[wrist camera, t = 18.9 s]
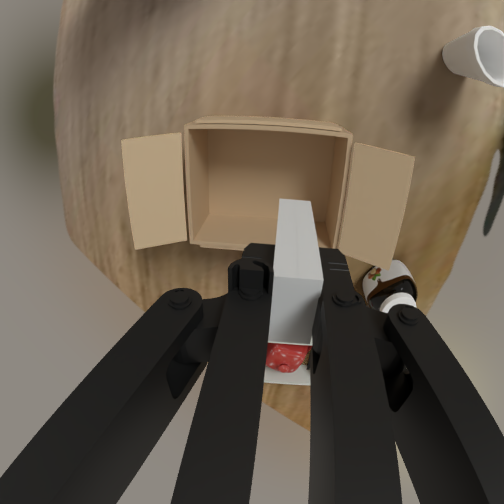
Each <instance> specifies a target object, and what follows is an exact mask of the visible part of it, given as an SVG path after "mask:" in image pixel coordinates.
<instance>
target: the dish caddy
mask: <svg viewBox="0 0 504 504" xmlns="http://www.w3.org/2000/svg"><path fill="white" fill-rule="evenodd" d="M268 342H269V343H281V344H295V345H311V346H312V337H311V342H310V344H299V343H285V342H273V341H268ZM306 369H307V365H300V366H299V368H298V369H297V370H296V371H294V372H292V373H282V372H280V371H277V370H274V369H272V368H269V367H268V366H265V375H264V382H267V383H279V384H294V385H310V370H306Z"/></svg>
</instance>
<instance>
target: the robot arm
mask: <svg viewBox="0 0 504 504" xmlns="http://www.w3.org/2000/svg"><path fill="white" fill-rule="evenodd" d="M311 337H312V349H311V353H310V357H309V361H308V365H307V369H306V370H310V387H311V435H310V438H311V439H310V477H309V500H308V504H402V497H401V485H400V476H399V467H398V460H397V452H396V445H395V442H396V444H397V446H398V449H399V451H400V454H401V456H402V458H403V461H404V463H405V466H406V468H407V471H408V473H409V476H410V478H411V481H412V483H413V486H414V488H415V491H416V494H417V496H418V499H419V502H420V504H504V436H503V434H502V432H501V431H500V429H499V427H498V425H497V423H496V422H495V420H494V418H493V416H492V415H491V413H490V411H489V410H488V408H487V406H486V405H485V403H484V401H483V400H482V398H481V396H480V395H479V393H478V392H477V390H476V389H475V387H474V385H473V384H472V382H471V381H470V379H469V377H468V376H467V374H466V373H465V371H464V370H463V368H462V367H461V365H460V364H459V362H458V361H457V359H456V358H455V357H454V355H453V354H452V352H451V351H450V349H449V348H448V346H447V345H446V343H445V342H444V341H443V340H442V338H441V336H440V335H439V334H438V332H437V331H436V330H435V328H434V327H433V325H432V324H431V323H430V321H429V320H428V319H427V317H426V316H425V315H424V314H423V313H422V312H421V311H420V310H419V309H417V308H416V307H414V306H411V305H408V304H397V305H394V306H392V307H391V308H390V309H389V312H388V313H385V312H382V311H378V310H375V309H372V308H369V307H368V306H366V304H365V301H364V299H363V298H362V296H361V295H360V294H359V293H357V292H356V291H354V287H353V283H352V280H351V276H350V272H349V269H348V265H347V262H346V258H345V256H344V255H343V253H342V252H341V251H340V250H339V249H333V248H321V247H318V241H317V235H316V229H315V223H314V217H313V212H312V206H311V201H304V200H292V199H279V211H278V222H277V233H276V244H275V245H274V244H262V243H250V244H249V245H248V246H247V247H245V248H244V251H243V254H242V258H241V259H240V260H237V261H235V262H233V263H231V265H230V266H229V267H228V293H227V294H225V295H223V296H221V297H217V298H212V299H202V297H201V295H200V294H199V293H198V292H196V291H194V290H192V289H188V288H177V289H173V290H170V291H167V292H166V293H164V294H163V295H162V296H161V297H160V298H159V299H158V300H157V301H156V302H155V303H154V304H153V305H152V306H151V307H150V308H149V309H148V310H147V311H146V312H145V313H144V314H143V316H142V317H141V318H140V319H139V320H138V321H137V322H136V323H135V324H134V325H133V326H132V327H131V328H130V329H129V330H128V332H127V333H126V334H125V335H124V336H123V337H122V338H121V339H120V340H119V341H118V342H117V343H116V345H114V347H113V348H112V349H111V350H110V351H109V352H108V353H107V354H106V355H105V356H104V358H103V359H102V360H101V361H100V362H99V363H98V364H97V365H96V366H95V367H94V368H93V370H92V371H91V372H90V373H89V374H88V375H87V376H86V377H85V378H84V380H83V381H82V382H81V383H80V384H79V385H78V386H77V388H76V389H75V390H74V391H73V392H72V393H71V394H70V396H69V397H68V398H67V399H66V400H65V401H64V402H63V403H62V405H61V406H60V407H59V408H58V409H57V410H56V411H55V413H54V414H53V415H52V416H51V417H50V419H49V420H48V421H47V422H46V423H45V424H44V425H43V427H42V428H41V429H40V430H39V431H38V432H37V434H36V435H35V436H34V437H33V438H32V440H31V441H30V442H29V443H28V444H27V446H26V447H25V448H24V449H23V451H22V452H21V453H20V454H19V455H18V457H17V458H16V459H15V460H14V462H13V463H12V464H11V465H10V466H9V468H8V469H7V470H6V471H5V473H4V474H3V475H2V477H1V478H0V504H116V503H117V502H118V500H119V499H120V497H121V496H122V494H123V493H124V491H125V490H126V488H127V487H128V485H129V484H130V482H131V481H132V480H133V478H134V477H135V475H136V474H137V472H138V470H139V469H140V468H141V466H142V464H143V463H144V461H145V460H146V458H147V457H148V455H149V454H150V452H151V451H152V449H153V448H154V446H155V445H156V443H157V442H158V440H159V439H160V437H161V436H162V434H163V432H164V431H165V429H166V428H167V426H168V425H169V423H170V422H171V420H172V419H173V417H174V415H175V414H176V412H177V411H178V409H179V408H180V406H181V405H182V403H183V401H184V400H185V398H186V397H187V395H188V393H189V392H190V390H191V389H192V387H193V386H194V384H195V383H196V381H197V379H198V378H199V376H200V375H201V373H202V371H203V370H204V368H205V367H206V365H207V362H208V365H207V369H206V373H205V376H204V380H203V384H202V387H201V391H200V395H199V399H198V402H197V406H196V410H195V413H194V417H193V421H192V425H191V428H190V432H189V435H188V439H187V443H186V447H185V451H184V454H183V458H182V462H181V466H180V470H179V473H178V477H177V481H176V485H175V489H174V493H173V496H172V500H171V504H249V499H250V492H251V485H252V477H253V469H254V462H255V454H256V446H257V437H258V429H259V420H260V412H261V403H262V394H263V385H264V375H265V366H266V356H267V346H268V341H273V342H285V343H299V344H310V342H311Z"/></svg>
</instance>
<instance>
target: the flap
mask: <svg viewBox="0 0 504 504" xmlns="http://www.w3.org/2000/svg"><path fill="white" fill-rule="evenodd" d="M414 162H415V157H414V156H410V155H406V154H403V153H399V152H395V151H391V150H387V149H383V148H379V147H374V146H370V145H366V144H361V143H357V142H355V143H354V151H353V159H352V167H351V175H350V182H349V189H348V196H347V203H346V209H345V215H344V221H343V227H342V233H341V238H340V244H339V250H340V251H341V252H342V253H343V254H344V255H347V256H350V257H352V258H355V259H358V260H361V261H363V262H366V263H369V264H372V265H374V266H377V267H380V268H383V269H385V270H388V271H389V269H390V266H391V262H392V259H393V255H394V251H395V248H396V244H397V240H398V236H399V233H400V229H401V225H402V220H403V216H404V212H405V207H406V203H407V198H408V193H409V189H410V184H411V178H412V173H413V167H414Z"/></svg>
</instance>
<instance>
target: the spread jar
mask: <svg viewBox="0 0 504 504" xmlns="http://www.w3.org/2000/svg"><path fill="white" fill-rule="evenodd" d="M363 291H364V294H365V298H366V301H367V303H368V305H367V306H368V307H369V308H372V309H375V310H378V311H382V312H385V313H388V312H389V309H390V308H391V307H392V306H394V305H397V304H408V305H411V306H414V307H416V303H415V302H416V300H417V295H418V294H417V287H416V284H415V282H414V279H413V277H412V275H411V274H410V272H409V270H408V269H407V267H406V266H405V265H404V264H403V263H402V262H401V261H399V260H392V262H391V266H390V269H389V271H388V270H385V269H383V268H380V267H377V266H373V267H372V268H371V269H370V270H369V271H368V272H367V274H366V275H365V277H364V279H363Z"/></svg>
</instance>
